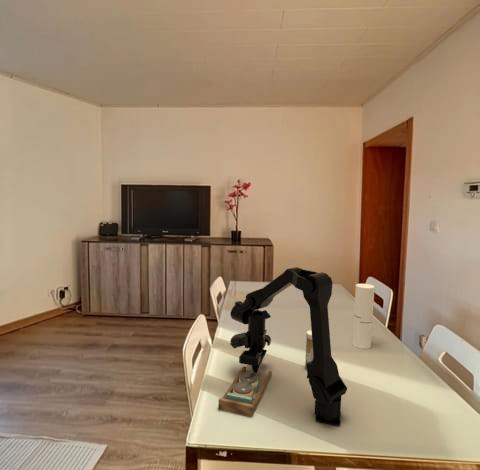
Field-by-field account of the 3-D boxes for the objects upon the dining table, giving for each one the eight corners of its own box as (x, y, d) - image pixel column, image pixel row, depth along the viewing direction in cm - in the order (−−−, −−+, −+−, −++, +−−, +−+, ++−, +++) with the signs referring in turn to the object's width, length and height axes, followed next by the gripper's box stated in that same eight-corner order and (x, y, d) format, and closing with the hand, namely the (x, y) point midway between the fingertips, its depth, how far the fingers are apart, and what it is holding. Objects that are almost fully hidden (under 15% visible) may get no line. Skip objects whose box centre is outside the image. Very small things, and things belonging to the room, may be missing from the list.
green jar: (259, 385, 114) (260, 373, 113) (255, 395, 108) (255, 383, 107) (242, 382, 115) (242, 370, 115) (236, 392, 110) (236, 380, 109)
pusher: (252, 406, 102) (252, 397, 102) (250, 408, 101) (250, 399, 100) (228, 401, 104) (228, 392, 104) (226, 403, 103) (226, 394, 103)
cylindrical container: (357, 340, 150) (360, 282, 147) (373, 345, 145) (377, 286, 142) (349, 344, 145) (352, 285, 142) (365, 350, 140) (369, 289, 137)
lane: (271, 376, 119) (271, 367, 119) (252, 417, 97) (252, 406, 97) (243, 371, 122) (243, 362, 122) (218, 409, 101) (218, 399, 100)
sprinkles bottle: (303, 365, 127) (304, 329, 125) (315, 365, 127) (317, 329, 126) (306, 372, 122) (308, 334, 121) (319, 371, 123) (321, 334, 121)
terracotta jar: (255, 395, 108) (255, 383, 107) (249, 406, 102) (250, 394, 102) (236, 392, 110) (236, 380, 109) (230, 403, 104) (230, 390, 103)
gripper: (242, 316, 128) (241, 356, 130) (224, 335, 111) (223, 382, 113) (271, 320, 125) (270, 361, 127) (258, 340, 107) (256, 388, 109)
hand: (255, 372), depth 119 cm, fingers closed
